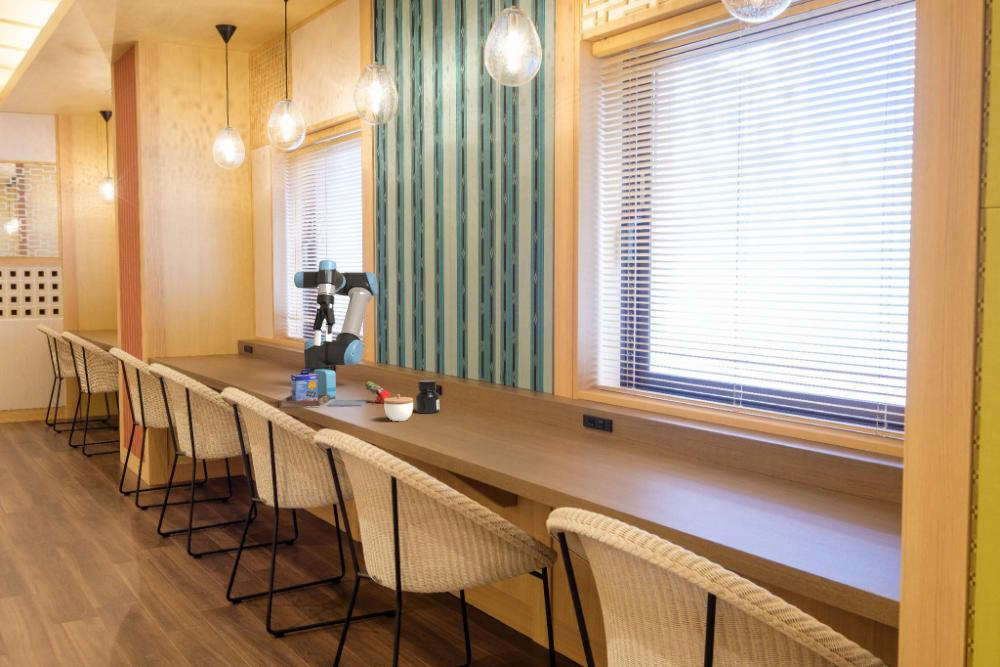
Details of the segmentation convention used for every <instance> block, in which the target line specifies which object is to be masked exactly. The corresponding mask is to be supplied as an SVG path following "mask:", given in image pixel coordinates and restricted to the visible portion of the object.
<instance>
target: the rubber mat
mask: <svg viewBox="0 0 1000 667" xmlns="http://www.w3.org/2000/svg"><path fill="white" fill-rule="evenodd" d="M369 401H370V400H369V399H335V400H334V399H333V401H331V402H330V403H328V404H326V406H327V407H362V405H363V406H364V405H365V404H367V403H368V402H369ZM366 402H367V403H366Z"/></svg>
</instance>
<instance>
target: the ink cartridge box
mask: <svg viewBox="0 0 1000 667" xmlns="http://www.w3.org/2000/svg"><path fill="white" fill-rule="evenodd" d="M305 371H308V372H305ZM309 371H310V369H305V368H304V369H301V371H300V373H299V374H298V373H297V374H290V376H291V377H290V378H291V379H290V381H291V383H290V385H291V395H292V401H317V400H318V375H317V374H313V373H310V374H309Z"/></svg>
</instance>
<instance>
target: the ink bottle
mask: <svg viewBox="0 0 1000 667" xmlns="http://www.w3.org/2000/svg"><path fill="white" fill-rule="evenodd" d="M417 387H418V393H417V394H416V395H415V403H416V404H415V405H416V406H415V411H416V413H418V414H436V413H439V412H440V407H441V406H440V394H439V393H438V392H437V380H435V379H422V380H418V386H417Z"/></svg>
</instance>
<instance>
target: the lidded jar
mask: <svg viewBox="0 0 1000 667" xmlns="http://www.w3.org/2000/svg"><path fill="white" fill-rule="evenodd" d="M383 408H384V413H385V415H386V417H387V418H389V419H388V420H390V421H391V420H392V421H391V422H395V421H399V422H406V420H407V421H408V419H409V418H410V417H411V415H412V413H413V411H414V398H413V397H408V396H401V394H400V393H399V394H396V396H394V397H389V398H386V399H384V403H383Z"/></svg>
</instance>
